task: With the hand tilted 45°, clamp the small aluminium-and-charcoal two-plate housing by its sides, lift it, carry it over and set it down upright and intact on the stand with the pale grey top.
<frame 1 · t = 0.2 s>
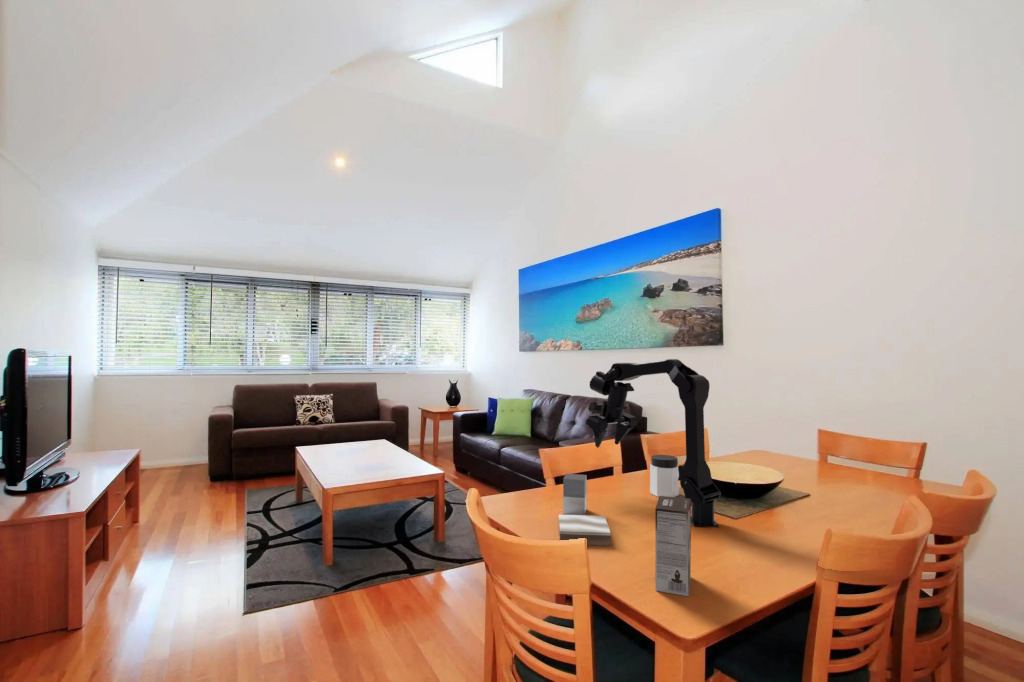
hand: (606, 445, 159), 15 cm above the table, tool pointing down, fingers open, 9 cm apart
coffee box: (673, 584, 96), on the table
housing: (575, 511, 139), on the table
jar: (664, 494, 157), on the table
stand: (583, 535, 121), on the table
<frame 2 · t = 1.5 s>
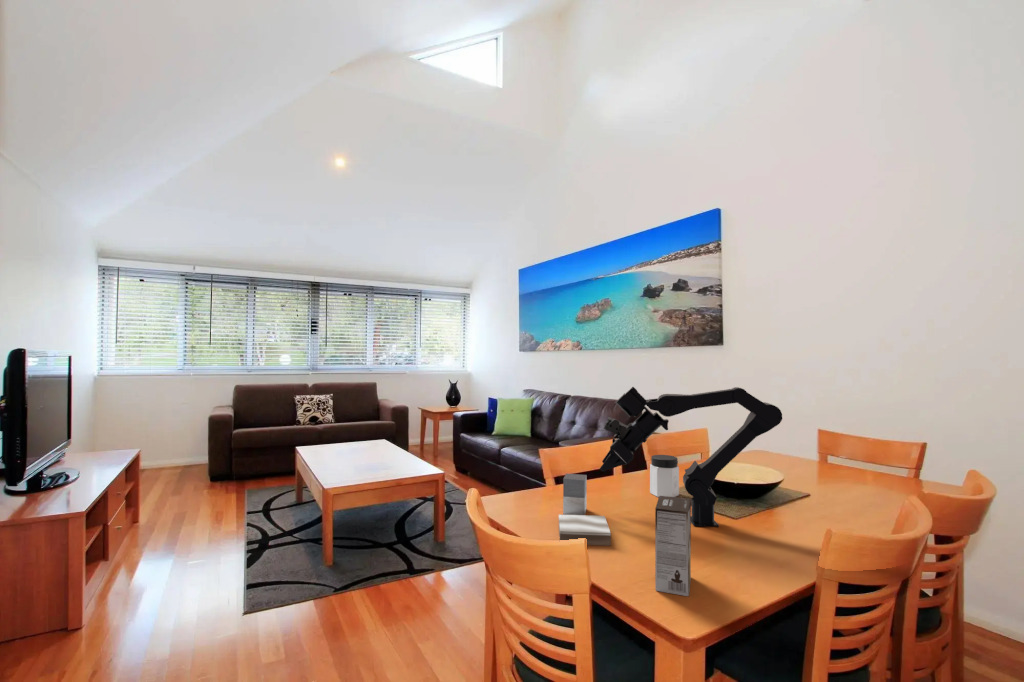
hand: (602, 466, 138), 13 cm above the table, tool tilted 45°, fingers open, 9 cm apart
nothing on the table moved.
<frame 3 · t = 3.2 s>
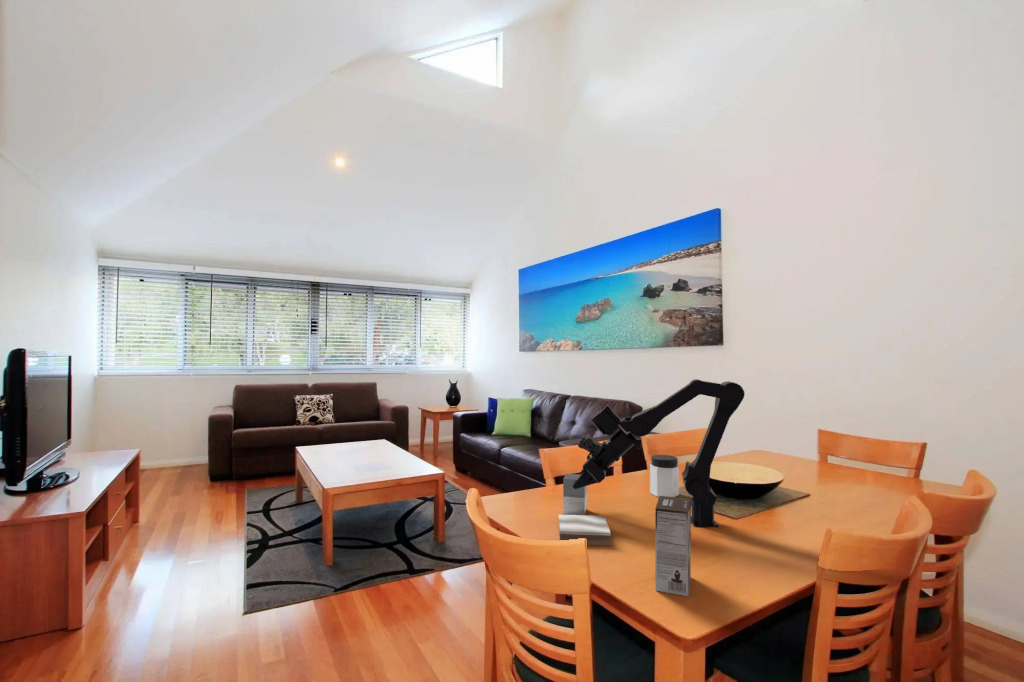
hand: (575, 483, 140), 8 cm above the table, tool tilted 45°, fingers open, 9 cm apart
nothing on the table moved.
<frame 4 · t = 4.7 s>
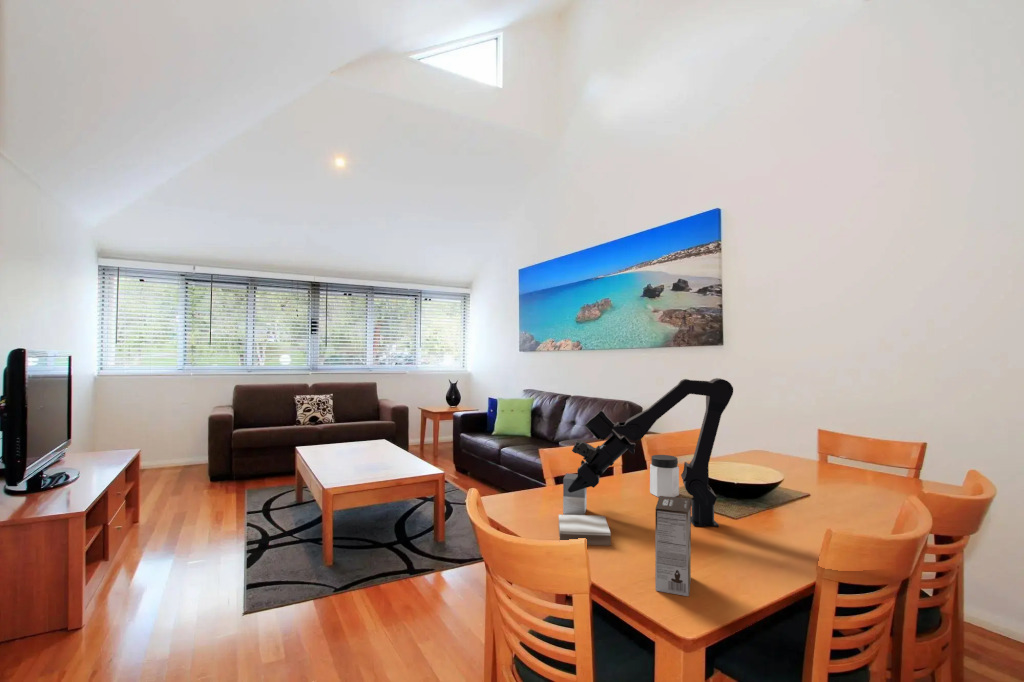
hand: (570, 488, 140), 7 cm above the table, tool tilted 45°, fingers closed on housing, 6 cm apart
housing: (575, 511, 139), on the table, touching gripper
everything else where it was.
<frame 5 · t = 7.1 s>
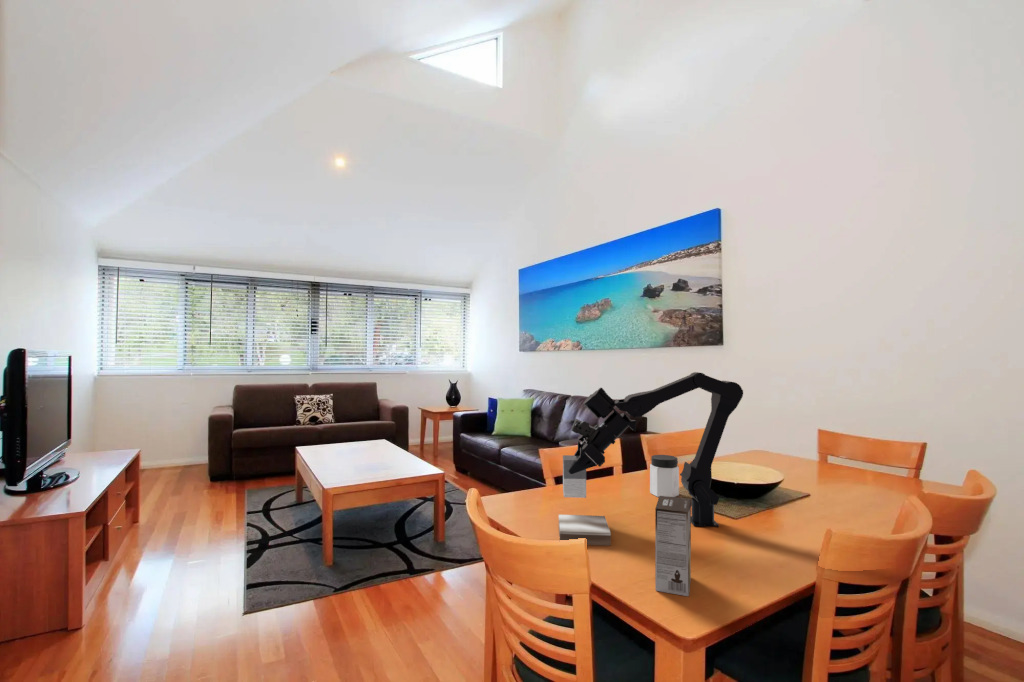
hand: (569, 470, 134), 13 cm above the table, tool tilted 45°, fingers closed on housing, 6 cm apart
housing: (574, 494, 133), point 7 cm above the table, touching gripper
everything else where it was.
when the fingers open (11 cm above the table, at t = 9.5 s): housing drops 1 cm, resting on stand.
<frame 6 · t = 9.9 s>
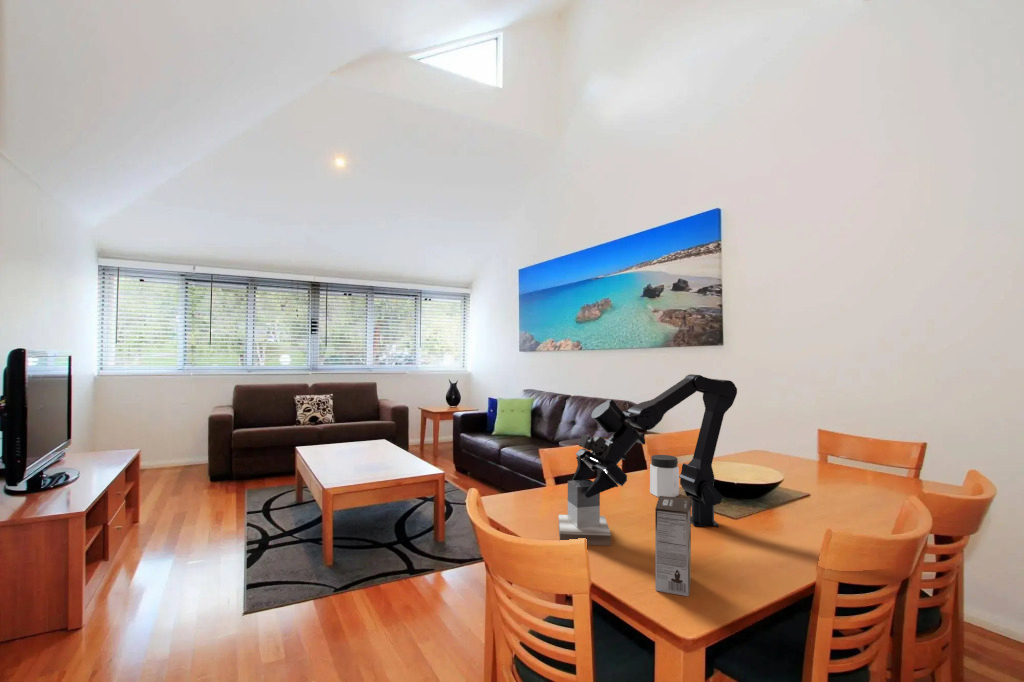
hand: (578, 491, 121), 11 cm above the table, tool tilted 45°, fingers open, 9 cm apart
housing: (583, 523, 121), point 3 cm above the table, touching stand
everything else where it was.
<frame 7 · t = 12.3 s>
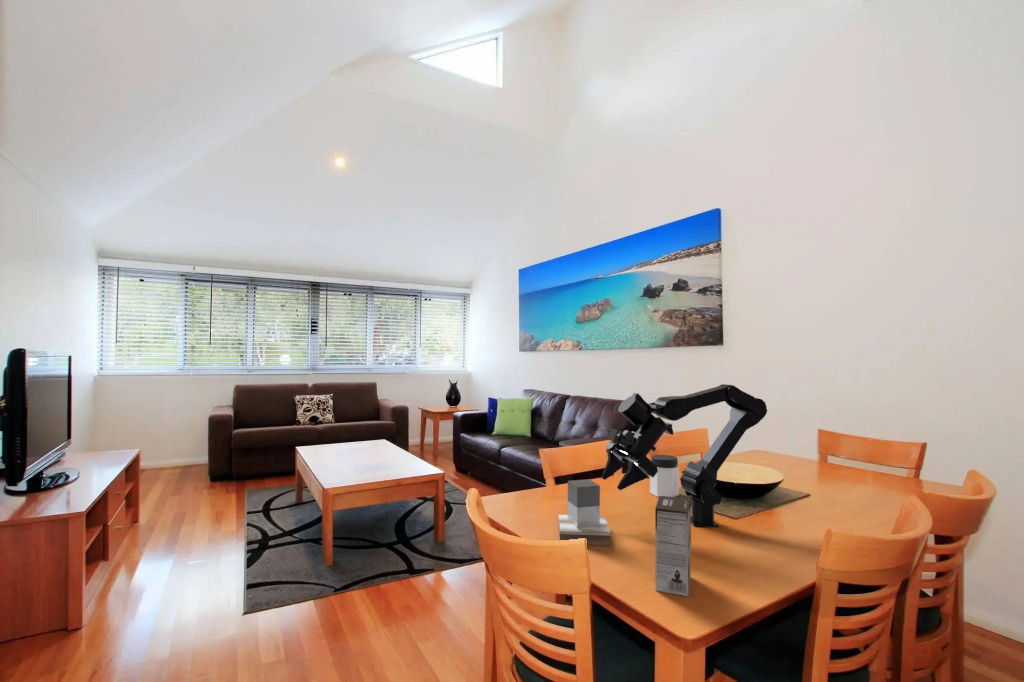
hand: (610, 483, 125), 12 cm above the table, tool tilted 40°, fingers open, 9 cm apart
nothing on the table moved.
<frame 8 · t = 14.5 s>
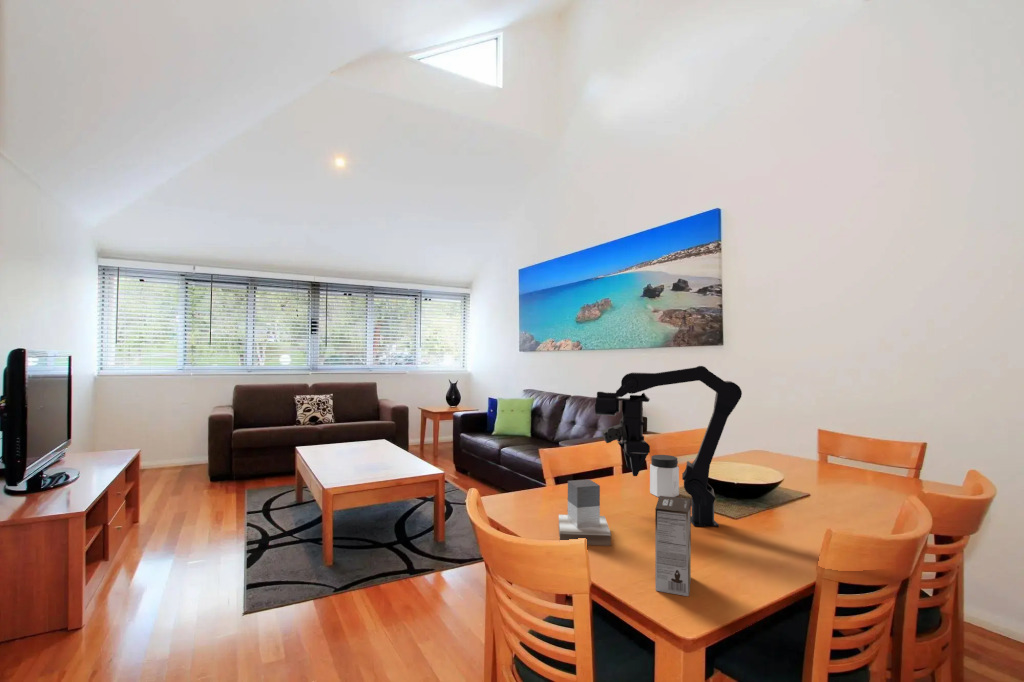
hand: (632, 471, 138), 12 cm above the table, tool pointing down, fingers open, 9 cm apart
nothing on the table moved.
at the end: housing inside the target area on the stand (0.0 cm from its centre), point 3.0 cm above the stand's base; housing tilted 0°; the gripper is holding nothing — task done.
